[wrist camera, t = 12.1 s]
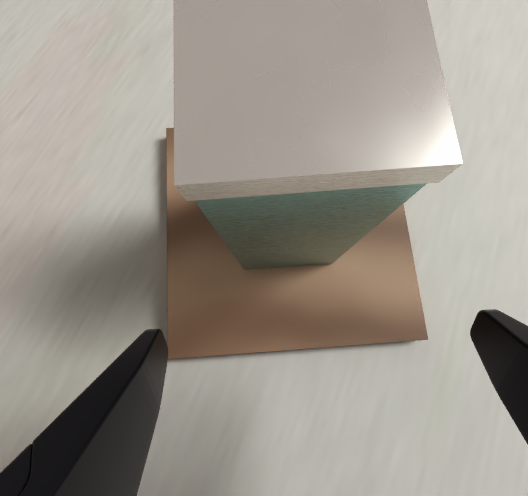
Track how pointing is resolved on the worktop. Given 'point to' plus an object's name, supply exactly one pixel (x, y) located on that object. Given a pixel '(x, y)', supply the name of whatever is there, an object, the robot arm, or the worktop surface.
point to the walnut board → (284, 290)
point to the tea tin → (306, 120)
